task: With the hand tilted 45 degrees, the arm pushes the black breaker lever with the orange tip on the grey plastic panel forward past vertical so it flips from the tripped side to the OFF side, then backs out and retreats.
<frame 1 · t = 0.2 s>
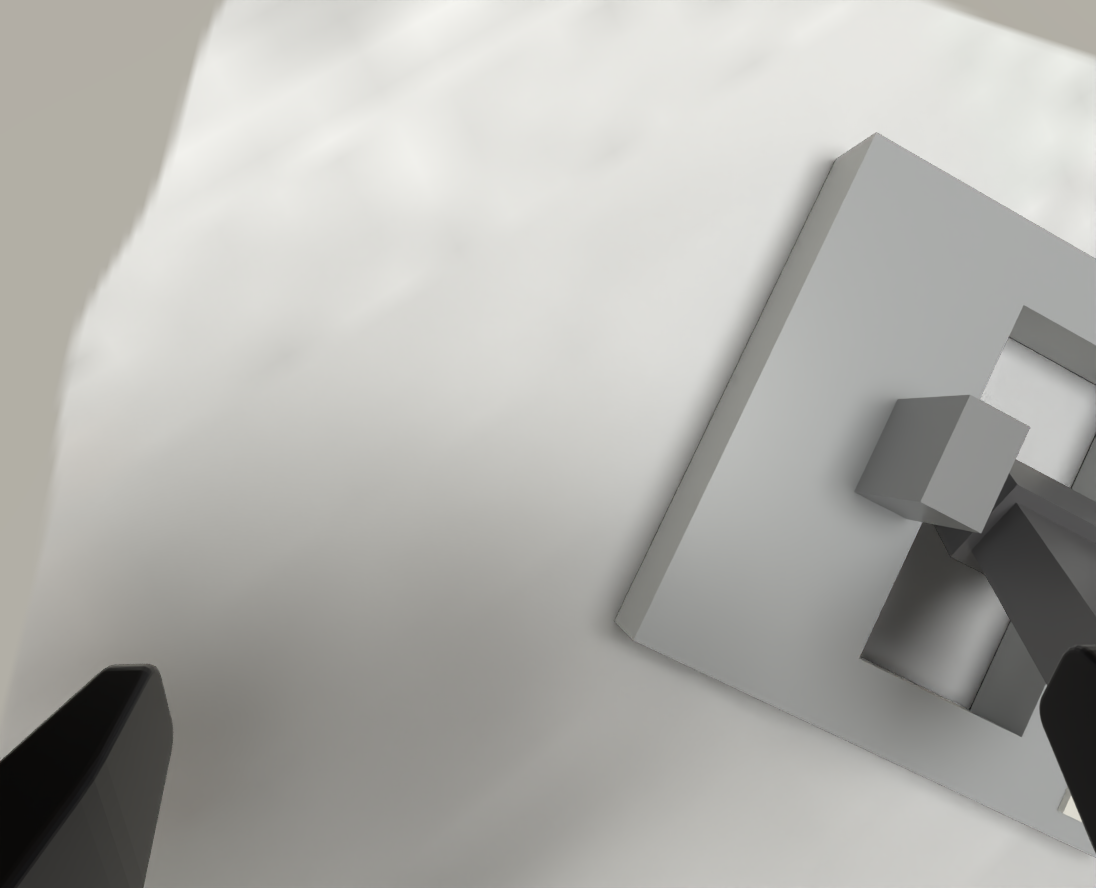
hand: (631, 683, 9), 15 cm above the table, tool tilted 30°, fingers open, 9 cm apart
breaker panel: (970, 513, 25), on the table
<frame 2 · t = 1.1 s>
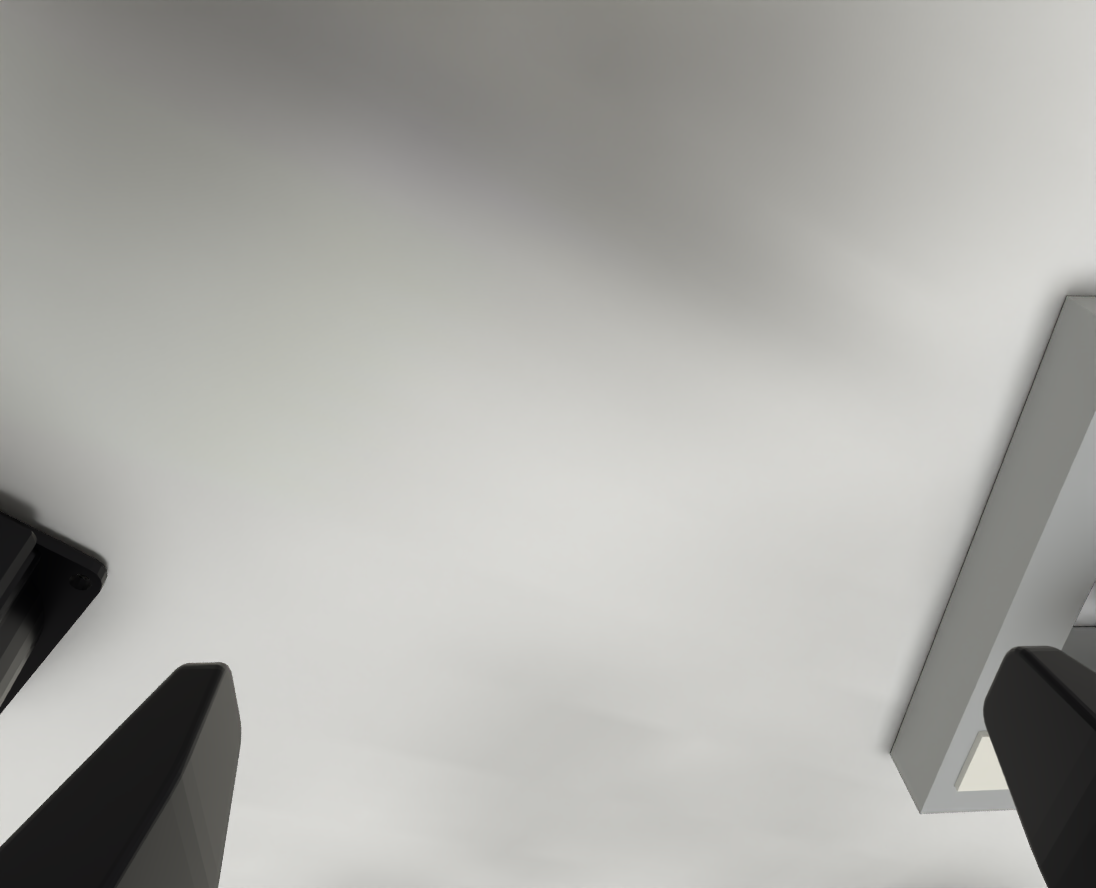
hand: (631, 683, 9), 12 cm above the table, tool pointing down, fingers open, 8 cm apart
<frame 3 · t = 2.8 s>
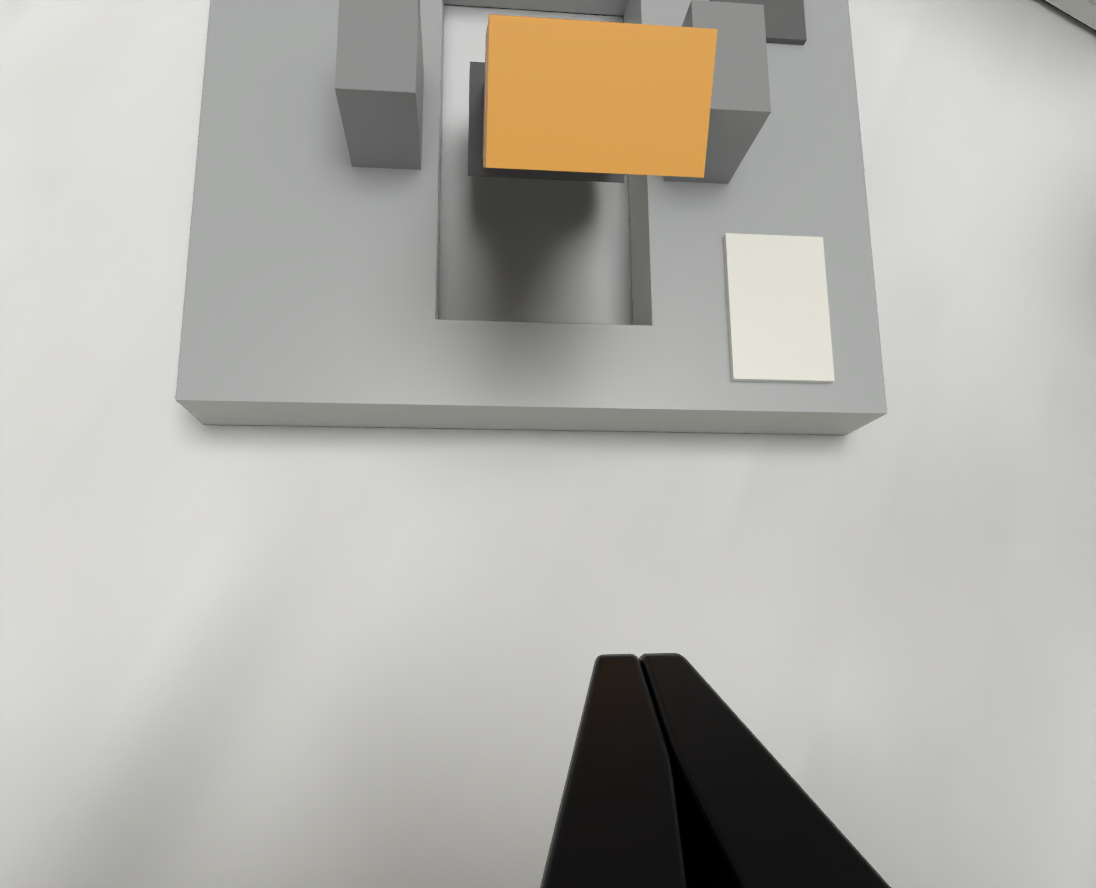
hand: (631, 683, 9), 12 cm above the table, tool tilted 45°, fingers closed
breaker lever: (563, 117, 17), point 6 cm above the table, hinge at -30.0°
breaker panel: (535, 173, 23), on the table
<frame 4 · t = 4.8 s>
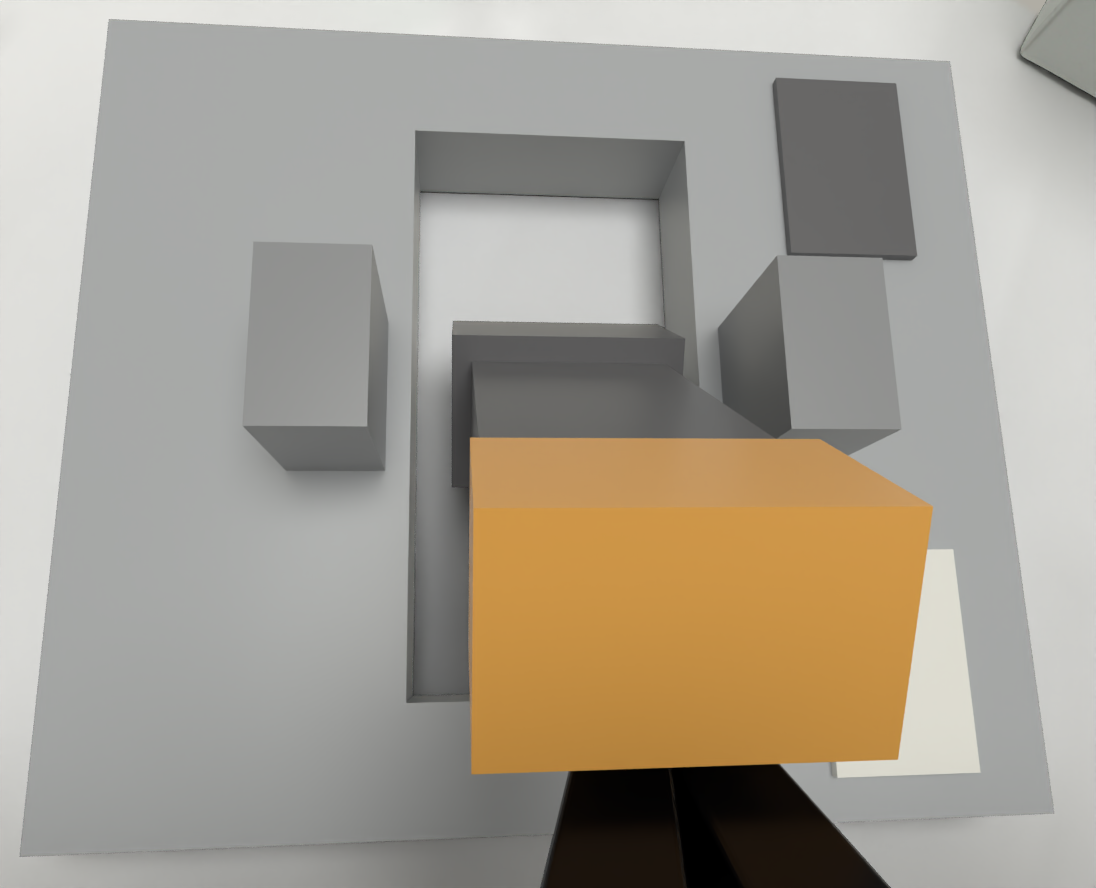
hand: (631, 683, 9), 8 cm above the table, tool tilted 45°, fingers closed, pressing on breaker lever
breaker lever: (595, 461, 11), point 6 cm above the table, hinge at -26.9°, touching gripper
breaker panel: (545, 427, 17), on the table
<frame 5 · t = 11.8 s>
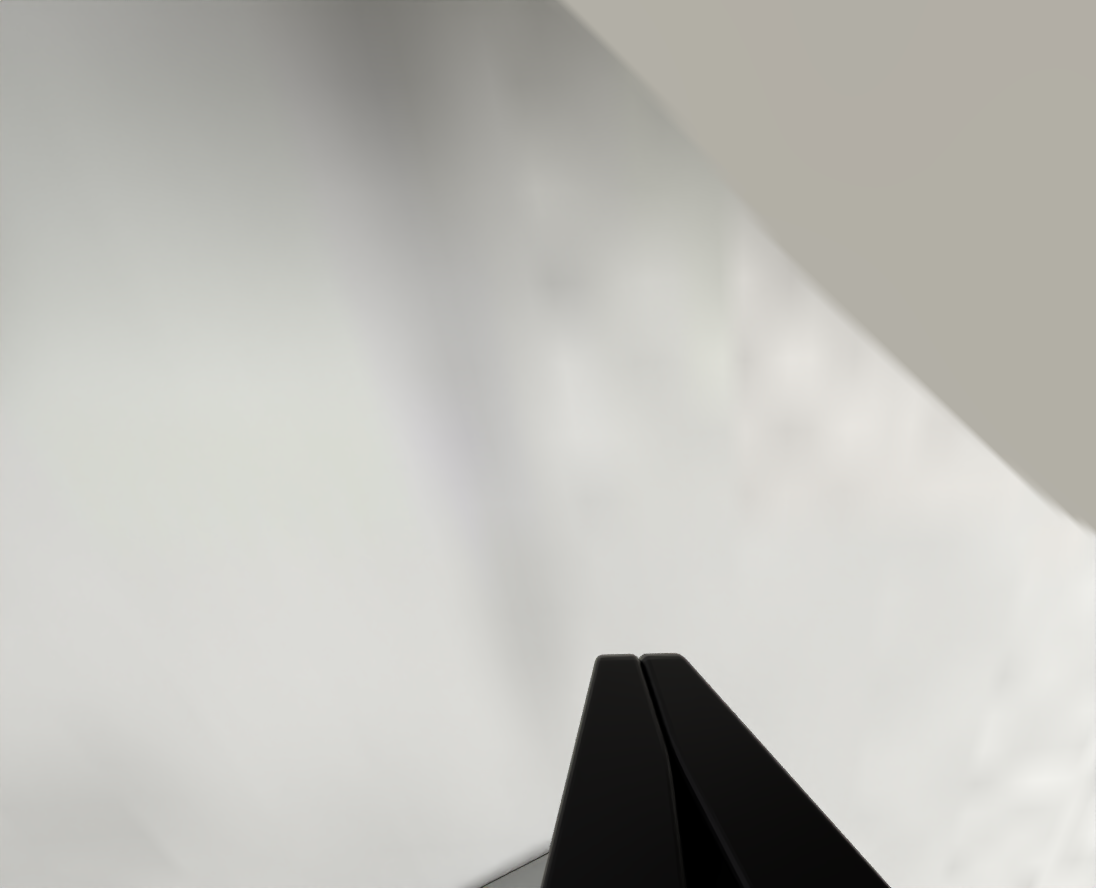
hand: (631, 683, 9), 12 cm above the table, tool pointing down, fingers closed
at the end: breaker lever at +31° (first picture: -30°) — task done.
